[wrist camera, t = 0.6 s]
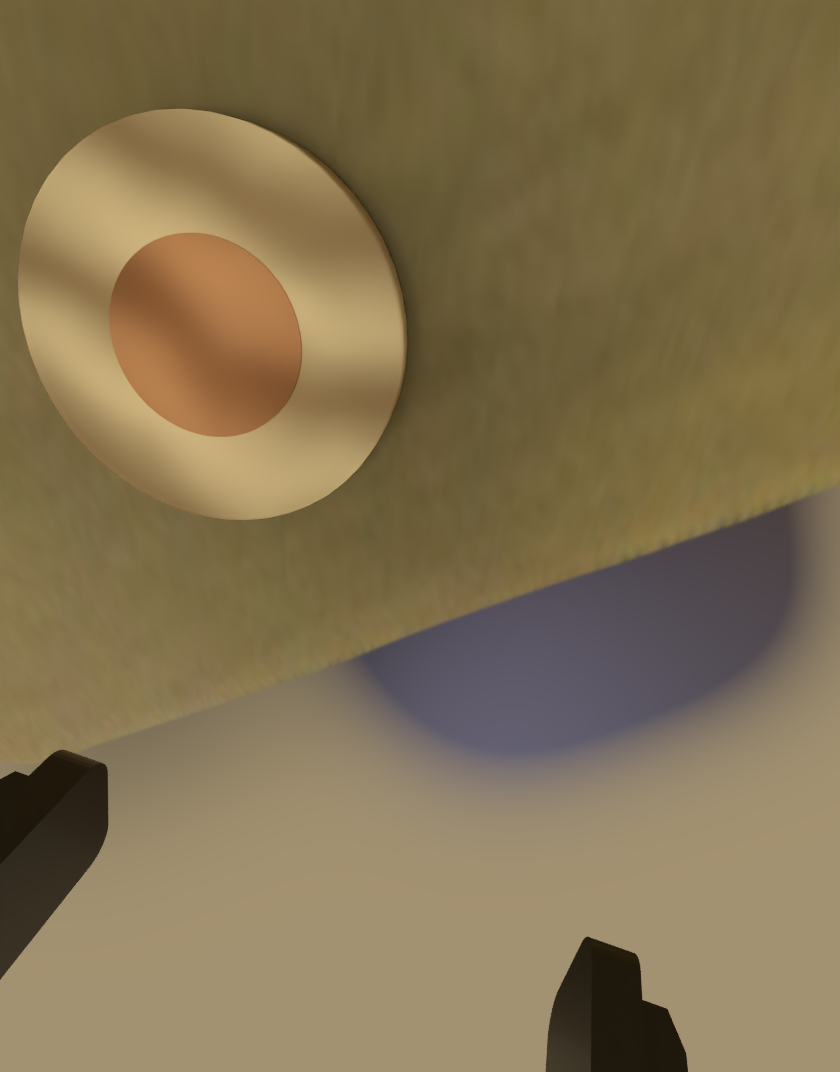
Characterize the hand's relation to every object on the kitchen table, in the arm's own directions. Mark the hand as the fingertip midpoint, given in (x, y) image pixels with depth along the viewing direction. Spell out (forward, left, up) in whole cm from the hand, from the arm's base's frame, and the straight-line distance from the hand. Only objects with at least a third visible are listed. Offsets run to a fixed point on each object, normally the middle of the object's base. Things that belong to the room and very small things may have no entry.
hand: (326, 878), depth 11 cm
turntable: (-1, -11, -22) cm, 25 cm away
